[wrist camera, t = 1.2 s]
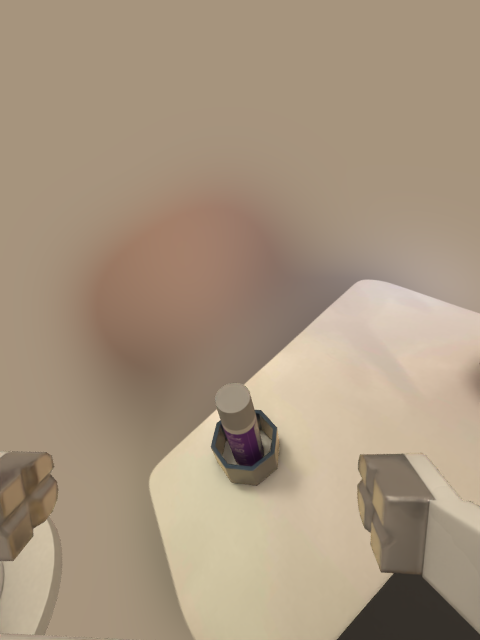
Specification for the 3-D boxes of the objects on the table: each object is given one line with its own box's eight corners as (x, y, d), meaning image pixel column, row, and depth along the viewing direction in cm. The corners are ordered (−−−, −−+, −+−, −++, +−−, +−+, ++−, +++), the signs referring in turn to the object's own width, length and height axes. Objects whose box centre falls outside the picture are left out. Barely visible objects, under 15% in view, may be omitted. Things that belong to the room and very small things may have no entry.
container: (234, 470, 49) (213, 416, 39) (233, 440, 52) (214, 384, 42) (265, 466, 48) (252, 411, 38) (262, 437, 52) (249, 379, 42)
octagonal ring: (241, 498, 46) (236, 484, 42) (208, 449, 52) (201, 433, 48) (291, 457, 49) (289, 441, 45) (254, 415, 55) (250, 398, 52)
